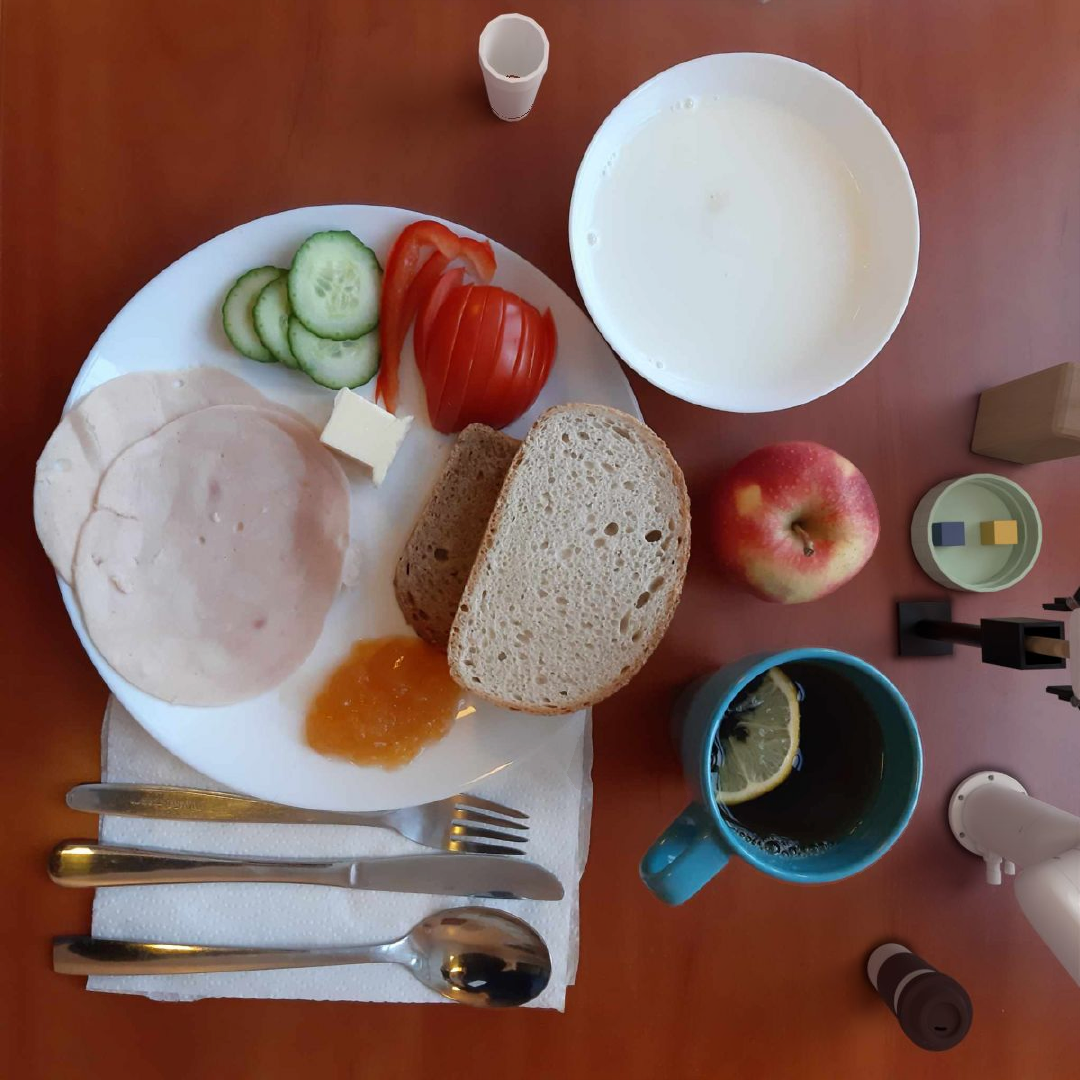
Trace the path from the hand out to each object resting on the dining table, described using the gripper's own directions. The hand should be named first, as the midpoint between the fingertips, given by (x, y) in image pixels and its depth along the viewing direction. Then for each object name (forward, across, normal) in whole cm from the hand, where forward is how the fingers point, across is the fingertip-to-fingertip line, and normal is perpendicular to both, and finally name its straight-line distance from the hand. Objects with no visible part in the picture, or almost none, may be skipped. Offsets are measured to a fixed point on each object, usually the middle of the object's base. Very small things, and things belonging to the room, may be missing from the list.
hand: (1055, 647), depth 98 cm
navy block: (+29, -14, +3) cm, 33 cm away
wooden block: (+30, -30, +14) cm, 45 cm away
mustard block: (+29, -14, +11) cm, 34 cm away
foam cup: (+30, -80, -60) cm, 104 cm away
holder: (+30, 0, 0) cm, 30 cm away
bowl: (+30, -14, +7) cm, 34 cm away
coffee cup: (+30, +50, -7) cm, 59 cm away
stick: (+10, 0, 0) cm, 10 cm away
